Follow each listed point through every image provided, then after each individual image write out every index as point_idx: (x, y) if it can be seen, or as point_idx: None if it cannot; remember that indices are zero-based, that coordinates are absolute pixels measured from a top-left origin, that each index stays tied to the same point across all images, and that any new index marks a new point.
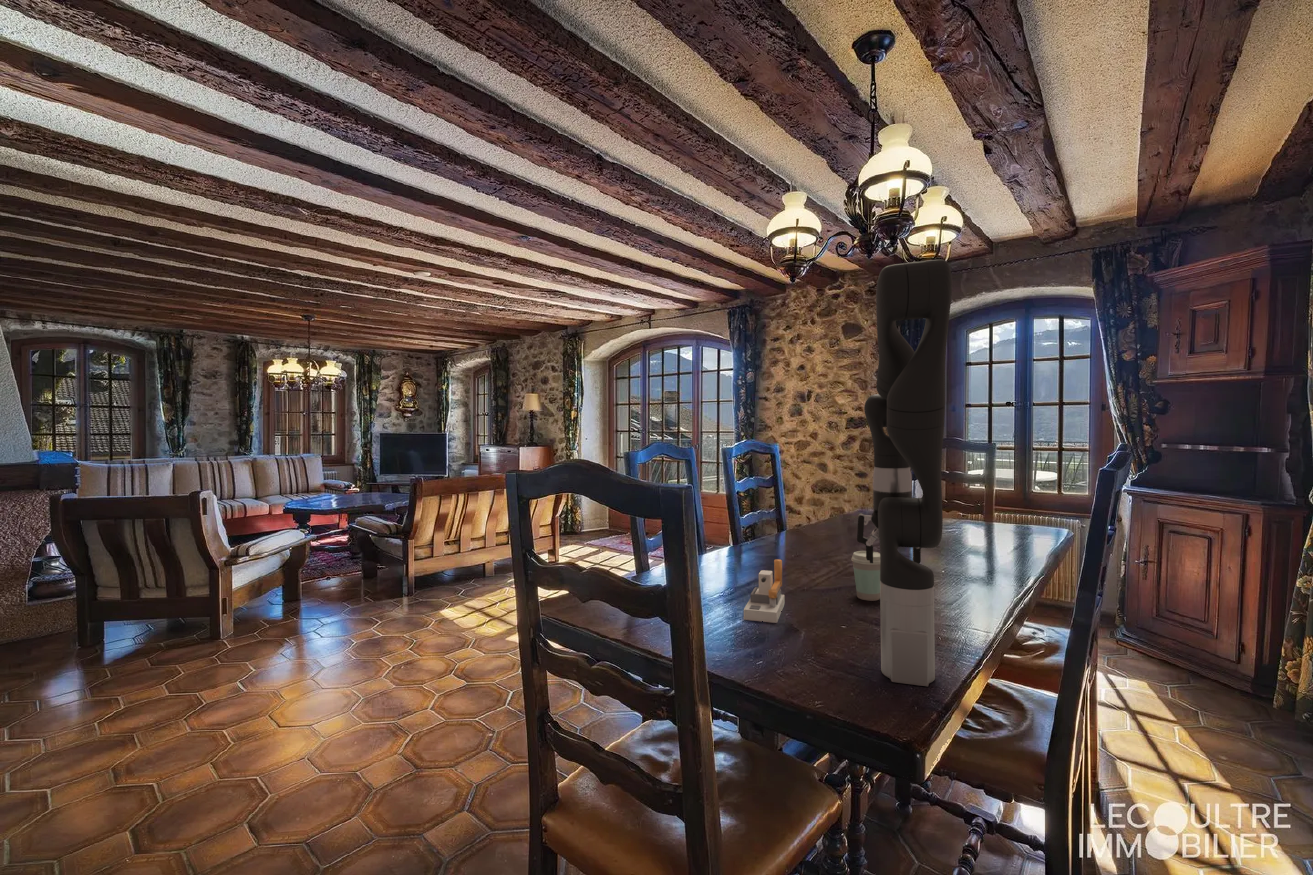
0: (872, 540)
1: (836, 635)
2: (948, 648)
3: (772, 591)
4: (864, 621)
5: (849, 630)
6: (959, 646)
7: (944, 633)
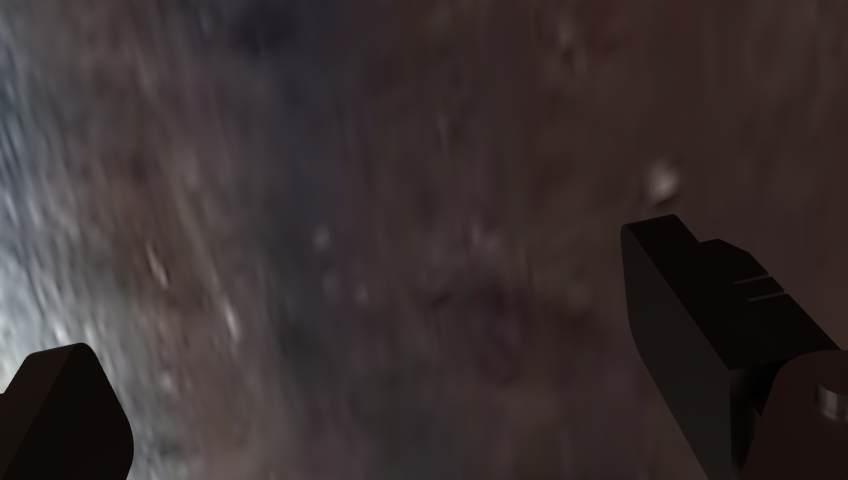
0: (807, 456)
1: (691, 16)
2: (73, 139)
3: None
4: (560, 310)
5: (624, 138)
6: (33, 199)
7: (154, 340)
